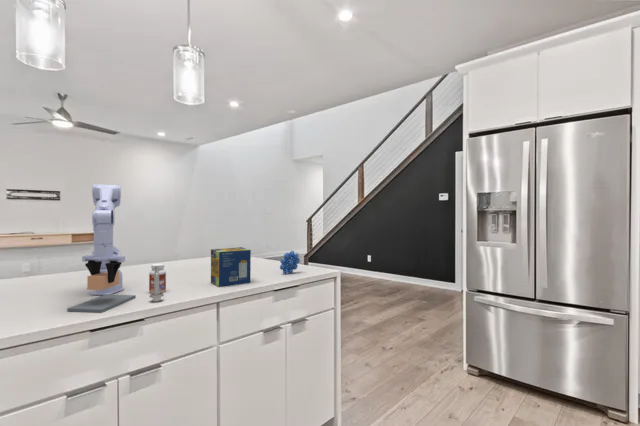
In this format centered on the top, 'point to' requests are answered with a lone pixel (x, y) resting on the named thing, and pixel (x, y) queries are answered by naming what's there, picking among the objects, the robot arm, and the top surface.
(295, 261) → the grapes
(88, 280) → the tan rectangular block
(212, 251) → the protein box
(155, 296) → the white flanged spindle
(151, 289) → the pill bottle
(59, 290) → the top surface
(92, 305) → the rubber mat
